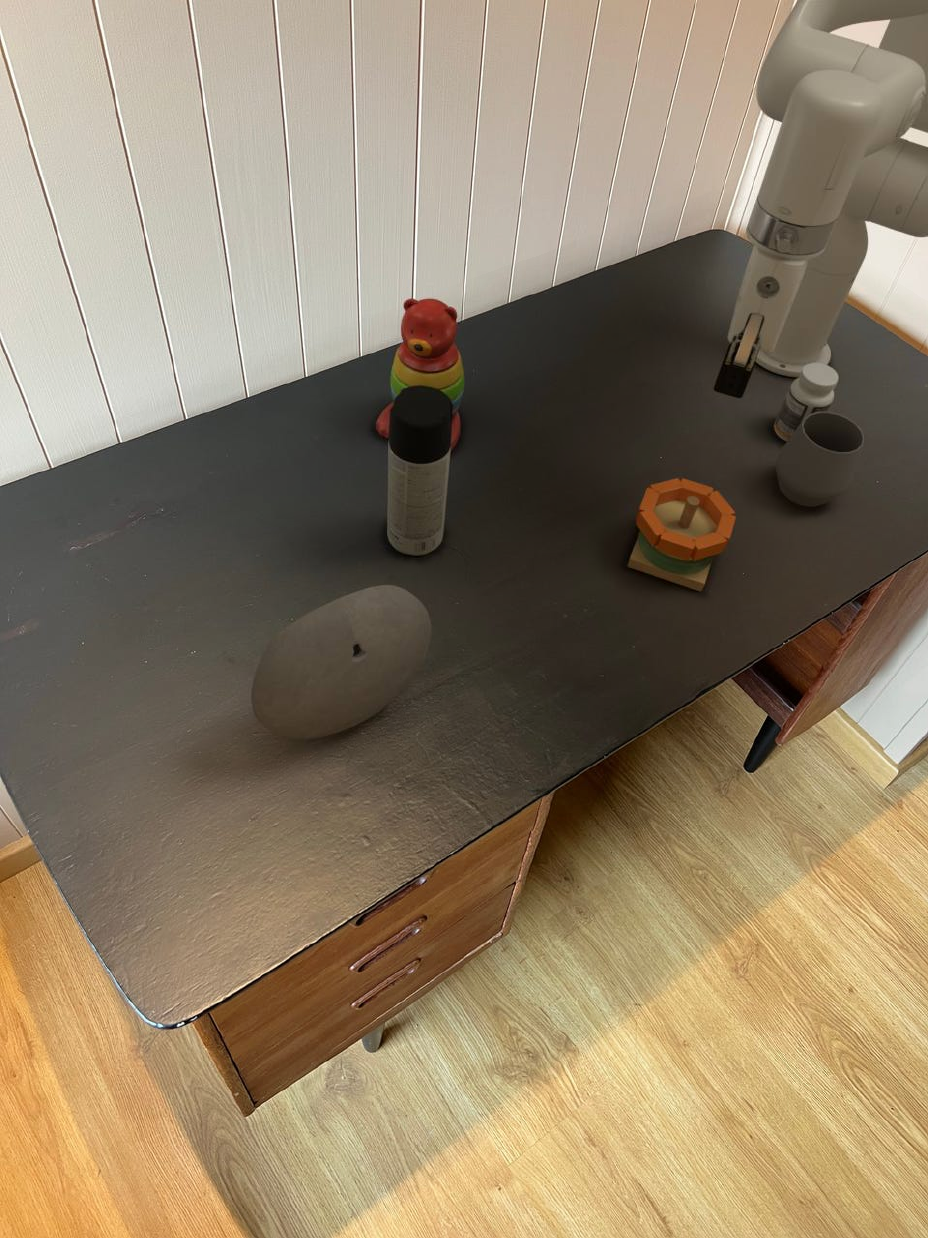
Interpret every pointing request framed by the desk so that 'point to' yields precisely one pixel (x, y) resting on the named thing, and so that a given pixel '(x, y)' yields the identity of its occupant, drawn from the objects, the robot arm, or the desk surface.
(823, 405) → the pill bottle
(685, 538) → the orange ring
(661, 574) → the stacker
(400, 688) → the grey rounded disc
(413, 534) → the spray can
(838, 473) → the cup
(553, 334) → the desk surface
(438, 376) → the stacking bear
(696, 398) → the desk surface
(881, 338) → the desk surface
